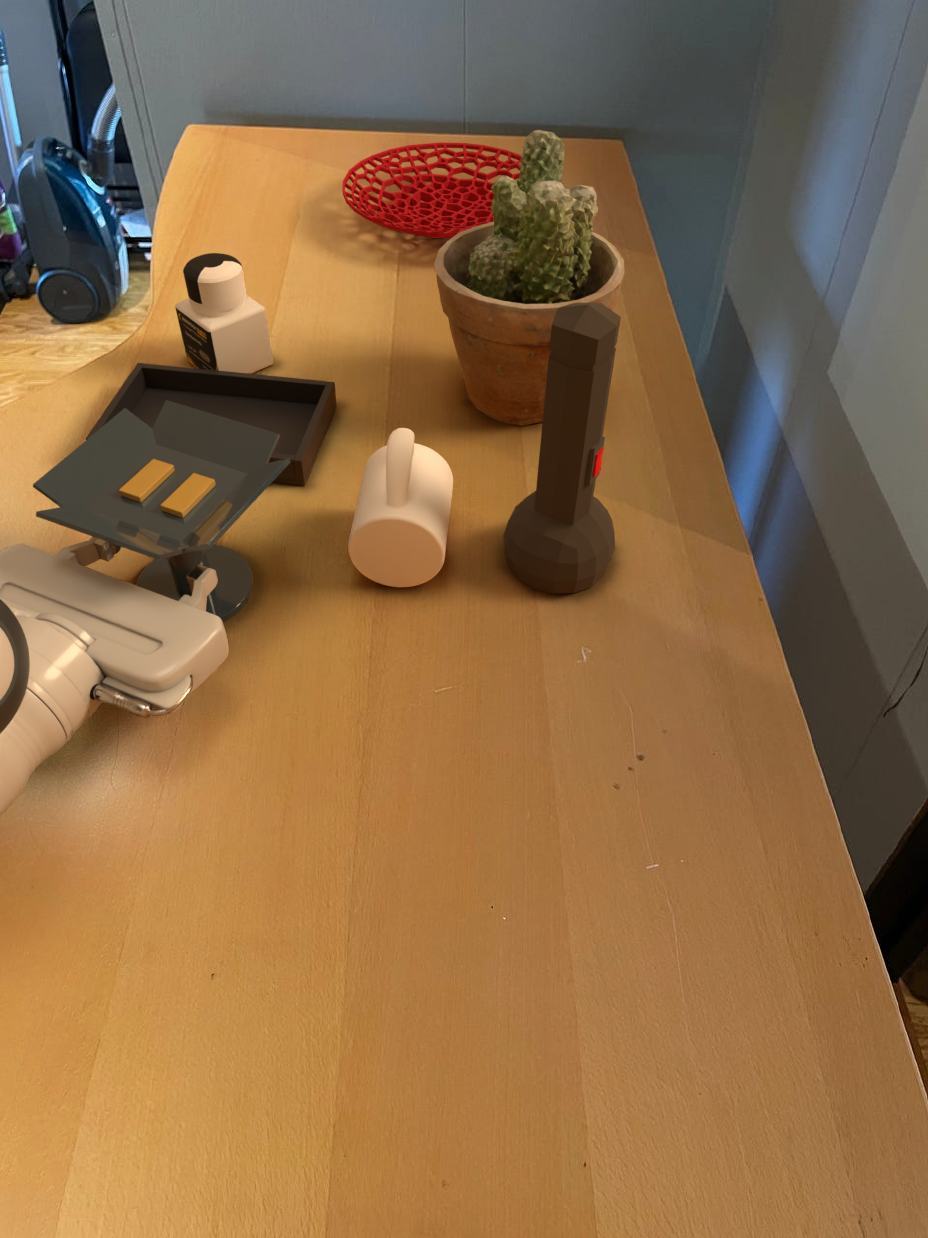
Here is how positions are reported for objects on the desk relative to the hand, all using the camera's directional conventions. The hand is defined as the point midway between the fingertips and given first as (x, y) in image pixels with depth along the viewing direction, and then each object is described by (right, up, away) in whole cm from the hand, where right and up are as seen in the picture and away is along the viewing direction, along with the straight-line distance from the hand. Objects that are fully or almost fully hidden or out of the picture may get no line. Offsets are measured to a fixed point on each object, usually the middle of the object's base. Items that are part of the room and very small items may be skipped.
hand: (160, 554), depth 75 cm
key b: (+3, +4, -2) cm, 6 cm away
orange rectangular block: (-1, +6, -1) cm, 6 cm away
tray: (-1, +14, +22) cm, 26 cm away
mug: (+19, +1, +10) cm, 22 cm away
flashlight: (+33, 0, +10) cm, 34 cm away
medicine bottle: (-2, +24, +31) cm, 39 cm away
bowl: (+23, +51, +56) cm, 79 cm away
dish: (+1, -3, +6) cm, 7 cm away
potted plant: (+31, +19, +27) cm, 45 cm away
